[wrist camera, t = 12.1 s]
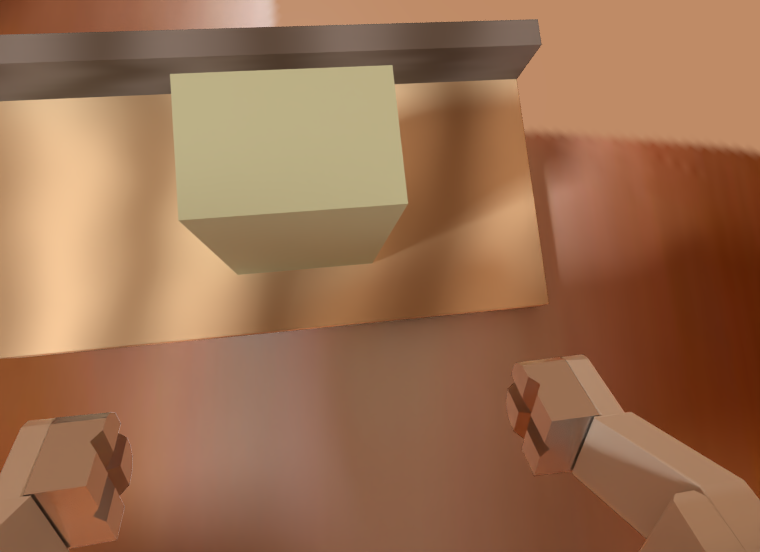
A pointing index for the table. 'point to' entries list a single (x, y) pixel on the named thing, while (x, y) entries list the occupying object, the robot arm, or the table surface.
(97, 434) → the robot arm
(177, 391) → the table surface
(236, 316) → the shelf
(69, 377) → the table surface
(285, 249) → the carton
